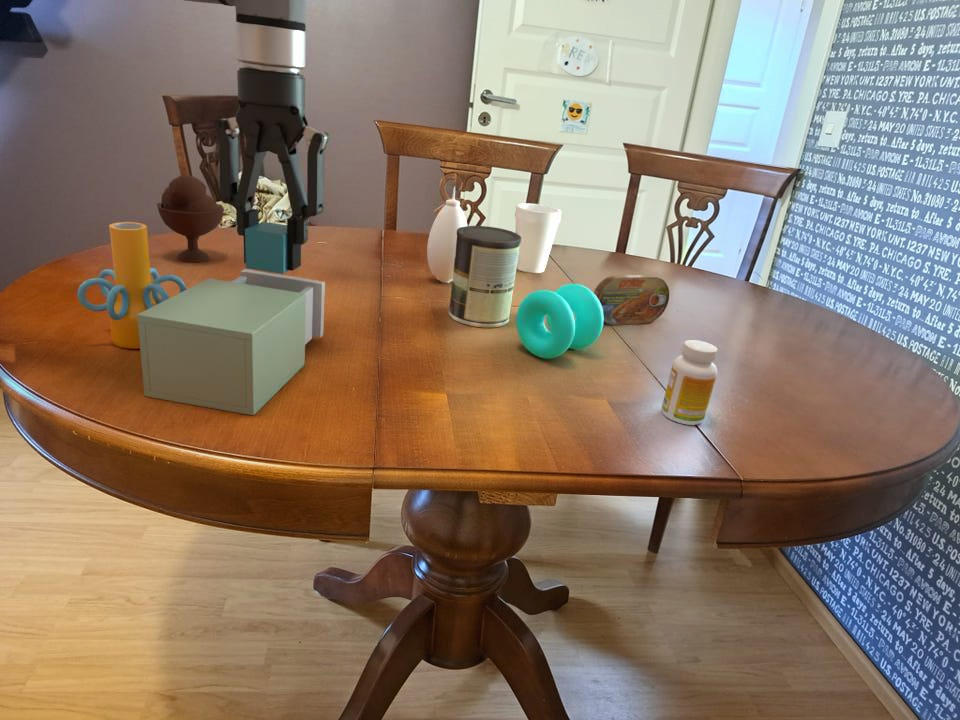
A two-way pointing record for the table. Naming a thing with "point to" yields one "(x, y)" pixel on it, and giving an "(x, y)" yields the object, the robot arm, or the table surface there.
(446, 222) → the sauce bottle
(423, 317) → the table surface
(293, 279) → the light grey drawer
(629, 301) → the tin
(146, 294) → the cylinder
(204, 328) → the green box
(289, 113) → the robot arm
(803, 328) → the table surface
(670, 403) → the supplement bottle
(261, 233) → the teal cube
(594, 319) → the donuts
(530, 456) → the table surface
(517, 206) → the foam cup
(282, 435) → the table surface
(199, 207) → the ice cream bowl
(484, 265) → the coffee can
